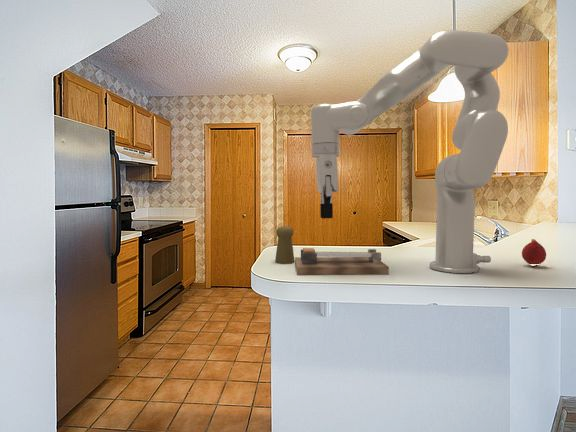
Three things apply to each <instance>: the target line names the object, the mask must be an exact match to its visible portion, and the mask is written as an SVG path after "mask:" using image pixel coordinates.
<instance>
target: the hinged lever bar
mask: <svg viewBox="0 0 576 432" xmlns="http://www.w3.org/2000/svg"><path fill="white" fill-rule="evenodd" d="M302 249H303V253H317V257H373V252H368V251H316V249H315V248H314V247H303V248H302ZM314 249H315V250H314Z"/></svg>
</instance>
